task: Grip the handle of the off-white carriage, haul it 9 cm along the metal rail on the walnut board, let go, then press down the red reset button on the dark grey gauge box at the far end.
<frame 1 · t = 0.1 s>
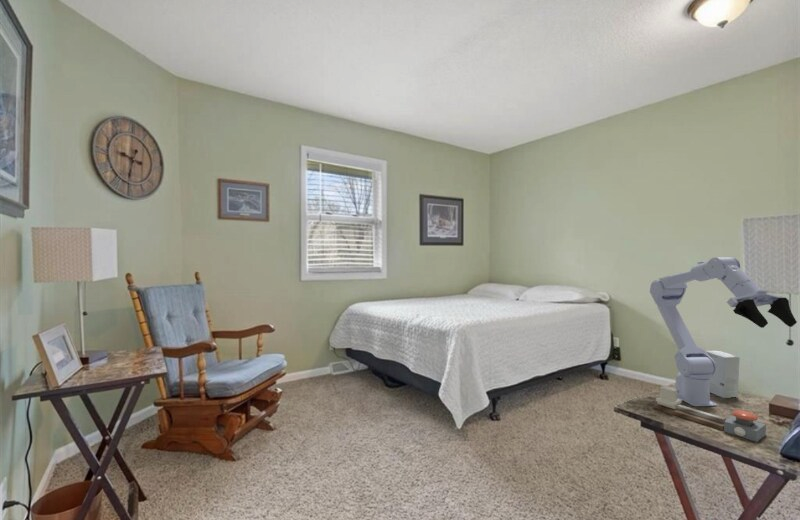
hand: (778, 325, 99), 32 cm above the table, tool tilted 50°, fingers open, 7 cm apart
carriage: (668, 396, 121), point 4 cm above the table, slide at 0.0 cm
rail board: (690, 416, 116), on the table
gauge box: (744, 433, 105), on the table
skincare box: (721, 394, 133), on the table
reset button: (744, 419, 105), point 4 cm above the table, slide at 0.0 cm
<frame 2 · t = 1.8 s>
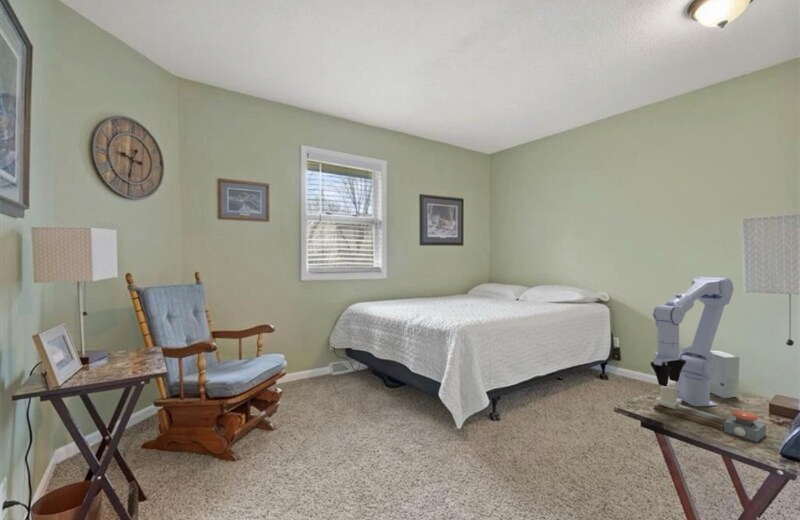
hand: (668, 383, 121), 9 cm above the table, tool pointing down, fingers open, 7 cm apart
nothing on the table moved.
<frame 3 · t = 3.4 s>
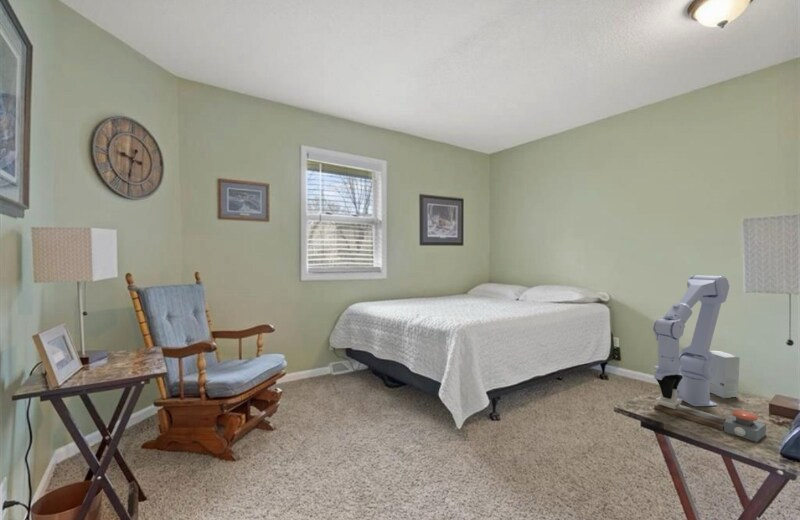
hand: (668, 396, 121), 4 cm above the table, tool pointing down, fingers closed on carriage, 2 cm apart
carriage: (668, 396, 121), point 4 cm above the table, slide at 0.0 cm, touching gripper
everything else where it was.
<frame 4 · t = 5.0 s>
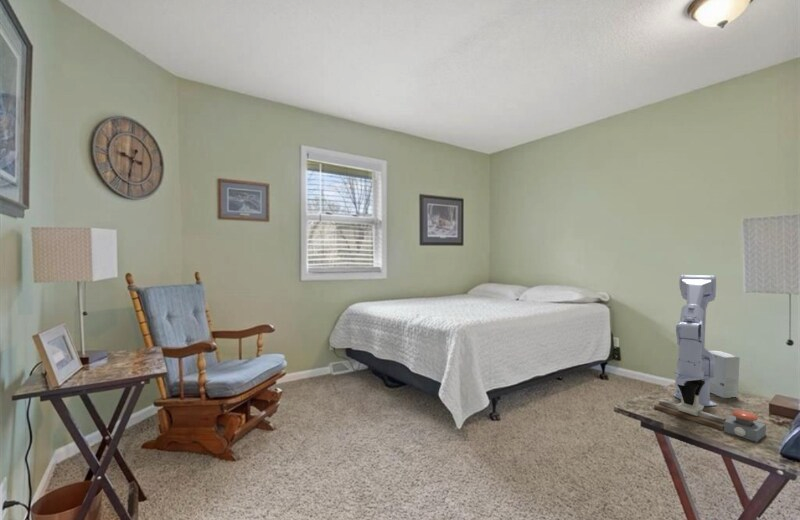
hand: (690, 403, 116), 4 cm above the table, tool pointing down, fingers closed on carriage, 2 cm apart
carriage: (689, 402, 116), point 4 cm above the table, slide at 5.9 cm, touching gripper
everything else where it was.
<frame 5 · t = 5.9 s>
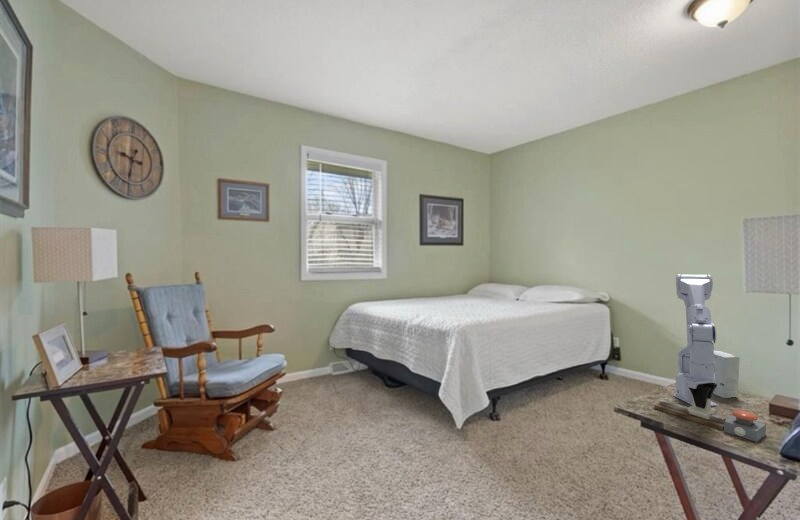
hand: (702, 406, 114), 4 cm above the table, tool pointing down, fingers closed on carriage, 2 cm apart
carriage: (701, 406, 114), point 4 cm above the table, slide at 8.9 cm, touching gripper
everything else where it was.
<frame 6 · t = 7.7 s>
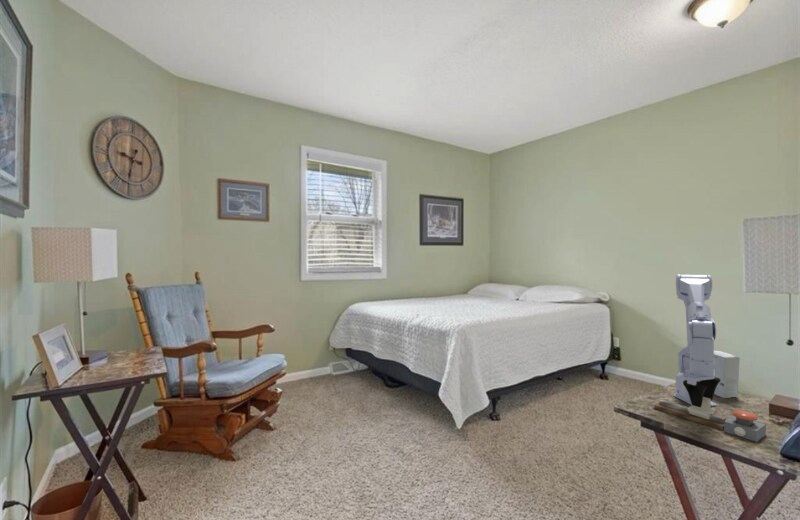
hand: (702, 403, 114), 5 cm above the table, tool pointing down, fingers open, 7 cm apart
carriage: (701, 406, 114), point 4 cm above the table, slide at 8.9 cm
everything else where it was.
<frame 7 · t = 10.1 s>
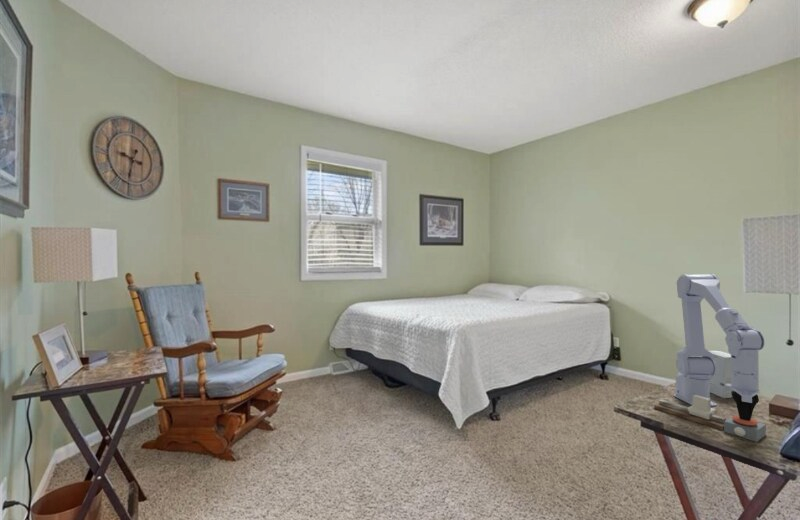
hand: (744, 419, 105), 4 cm above the table, tool pointing down, fingers closed, pressing on reset button
reset button: (744, 424, 105), point 2 cm above the table, slide at 1.4 cm, touching gripper
everything else where it was.
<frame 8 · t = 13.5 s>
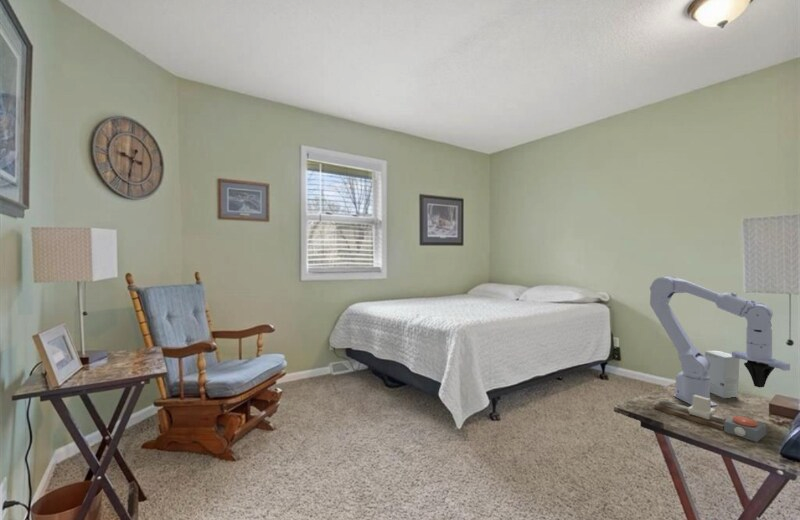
hand: (759, 386, 115), 9 cm above the table, tool pointing down, fingers closed
reset button: (744, 425, 105), point 2 cm above the table, slide at 1.8 cm
everything else where it was.
at the end: carriage slide at 8.9 cm; reset button slide at 1.8 cm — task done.
